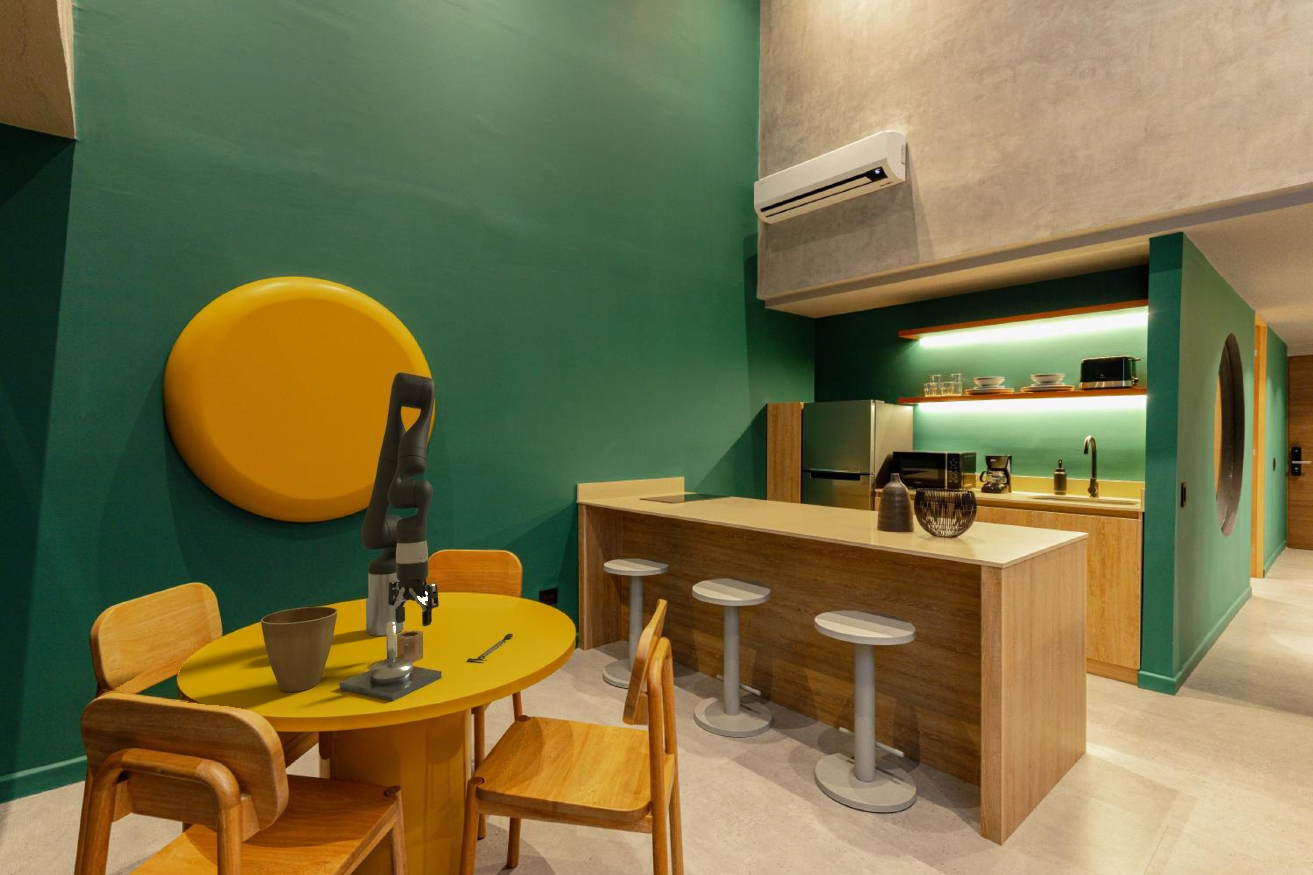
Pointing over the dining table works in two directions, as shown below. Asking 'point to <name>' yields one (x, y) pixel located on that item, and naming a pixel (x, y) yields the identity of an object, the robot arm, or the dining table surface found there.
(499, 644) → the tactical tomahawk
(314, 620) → the plant pot
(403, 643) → the copper ring
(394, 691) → the piston base
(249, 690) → the dining table surface
